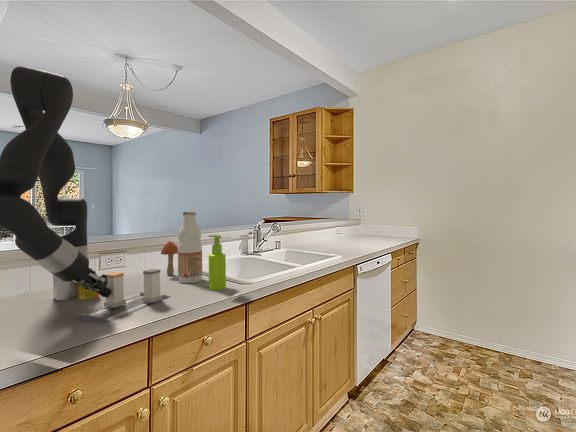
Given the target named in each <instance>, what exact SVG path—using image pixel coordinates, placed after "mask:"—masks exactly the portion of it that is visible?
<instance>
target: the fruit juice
mask: <svg viewBox="0 0 576 432" xmlns="http://www.w3.org/2000/svg"><path fill="white" fill-rule="evenodd" d="M196 214H197V212H196V211H183V212H182V216H183V219H182V223H181V226H180V228H179V229H178V231H177V237H178V241H179V242H178V244H177V247H178V253H177V273H178V274H177V278H178V282H179V283H180V284H194V283H199V282H202V281H203V245H202V242H201V238H202V230H201V228H200V227H199V225H198V223H197V219H196Z"/></svg>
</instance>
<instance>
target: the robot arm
mask: <svg viewBox="0 0 576 432" xmlns="http://www.w3.org/2000/svg"><path fill="white" fill-rule="evenodd" d="M9 82H10V90H11V92H12V93H11V95H12V97H13V100H14V102H15V105H16V108H17V111H18V113H19V116H20V118H21V120H22V123H23V127H24V128H25V129H24V130H23V131H21V132H20V133H19V134H18V135H16V136H14V137H12V139H11V140H9V142H7V144H6V145H5V146H4V147H3V150H2V151H1V152H0V153H1V154H0V232H1V231H9V232H10V233H12V234H13V235H14V236H15V237H16V238H15V241H14V242H15V245H16V247H17V248H18V249H19V250H20V251H22V252H23V253H25V255H27V256H29V258H31V259H33V260H34V261H35V262H36V263H38V265H39V266H41V267H42V268H44V269H45V270H46V271H48V272H49V273H51V274H52V283H53V284H52V285H53V287H52V288H53V289H52V290H53V298H54V299H55V301H60V302H61V301H68V300H70V299H74V298H77V297H78V298H79V286H81V287H83V288H85V289H90V290H92V291H95V292H97V293H98V294H99V296H100V297H102V298H105V299H106V298H107V297H109V295H110V294H111V292H112V291H111V290H110V289H109V288H107V287H106V285H107V284H108V280H107V276H106V275H105V274H104V273H103V274H102V275H98V274H97V273H95V271H96V270H95V269H93V268H91V267H90V259H89V255H88V254H89V253H88V230H87V229H88V203H87V201H86V200H85V199H84V198H81V197H58V196H59V195H60V193H61V191H62V189H63V188H65V186H66V185H67V184H68V183H69V182H70V180H71V179H72V178H73V177H74V175H75V172H76V165H75V158H74V157H75V156H74V152H73V150H72V148H71V146H70V145H69V143H68V142H67V140H66V139H65V138H64V137H63V136H62V135H61V134H60V133H59V132H60V129H61V127H62V125H63V123H64V121H65V119H66V118H67V116H68V114H69V112H70V110H71V107H72V103H73V100H74V89H73V85H72V83H71V81H70V80H69V79H68V78H67V77H66V76H63V75H60V74H57V73H53V72H49V71H45V70H41V69H36V68H33V67H28V66H22V65H21V66H16V67H14V68H13V69H12V71H11V73H10V81H9ZM38 179H39V183H40V186H41V191H42V196H43V202H44V208H45V213H46V218H47V221H48V222H49V224H50V225H52V226H56V227H57V226H58V227H65V226H74V227H75V228H73V229H74V230H72V231H70V232H68V233H67V234H63V235H59V234H58V233H57V232H56V231H54V230H53V229H52V228H50V227H49V226H48V224H47V222H46V221H45V219H44V218H43V217H42V215H41V214H40V212H39V211H38V209H37V208H36V207H35V206H34V205H33V204H32V203H30V202H29V201H27V200H26V199H24V198H23V197H22V195H24V194H25V193H26V192H29V191H31V190H32V189H33V188H34V187H35V185H37V184H36V183H37V181H38ZM94 270H95V271H94Z"/></svg>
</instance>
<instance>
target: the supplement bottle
mask: <svg viewBox="0 0 576 432" xmlns="http://www.w3.org/2000/svg"><path fill="white" fill-rule="evenodd" d="M93 270H94V271H95V273H96V272H97V271H96V269H93ZM96 274H97V273H96ZM99 296H100V295H99V294H98V293H97V292H95V291H92V290H90V289H85V288H83V287H81V286H79V296H78V300H81V301H83V300H93V299H96V298H99Z"/></svg>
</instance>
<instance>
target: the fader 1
mask: <svg viewBox="0 0 576 432" xmlns="http://www.w3.org/2000/svg"><path fill="white" fill-rule="evenodd" d="M104 275H106V276H107V280H108V284H107V285H106V287H107V288H109V289H110V290H111V291H112V292H111V294H110V295H109V297H107V298H106V297H105V301H103V307H112V308H115V307H118V306H121V305H123V304H126V300H127V299H125V297H124V295H125V294H124V293H125V292H124V272H118V271H115V272H111V273H105V274H104Z"/></svg>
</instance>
